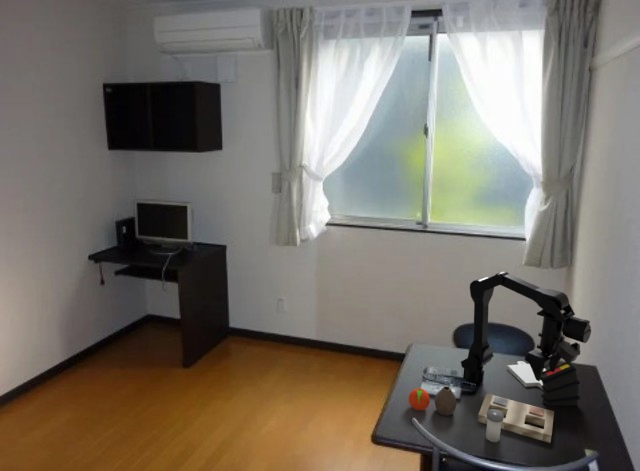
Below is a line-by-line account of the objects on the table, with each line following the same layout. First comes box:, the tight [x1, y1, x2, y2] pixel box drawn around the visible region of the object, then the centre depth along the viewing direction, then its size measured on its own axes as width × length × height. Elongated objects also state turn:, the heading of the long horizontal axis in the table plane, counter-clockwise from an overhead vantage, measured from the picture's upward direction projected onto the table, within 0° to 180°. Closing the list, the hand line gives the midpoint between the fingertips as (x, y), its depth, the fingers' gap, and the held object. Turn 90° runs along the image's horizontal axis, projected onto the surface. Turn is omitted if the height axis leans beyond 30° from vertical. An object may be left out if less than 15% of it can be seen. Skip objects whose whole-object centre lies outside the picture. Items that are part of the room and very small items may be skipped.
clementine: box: [408, 387, 431, 411], centre depth 157 cm, size 8×7×7 cm
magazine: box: [540, 361, 581, 407], centre depth 161 cm, size 4×13×15 cm, turn 92°
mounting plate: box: [506, 360, 547, 390], centre depth 179 cm, size 18×13×2 cm
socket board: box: [477, 393, 555, 444], centre depth 153 cm, size 21×14×3 cm, turn 62°
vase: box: [434, 385, 457, 416], centre depth 156 cm, size 7×7×9 cm
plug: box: [485, 409, 505, 443], centre depth 143 cm, size 5×5×8 cm
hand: (545, 376), depth 154 cm, fingers open, 9 cm apart
